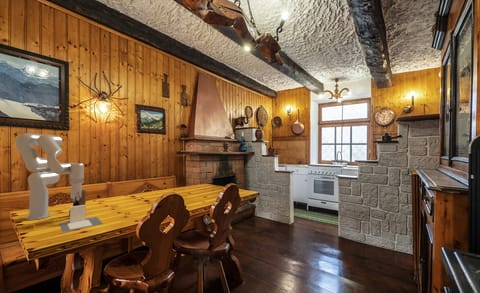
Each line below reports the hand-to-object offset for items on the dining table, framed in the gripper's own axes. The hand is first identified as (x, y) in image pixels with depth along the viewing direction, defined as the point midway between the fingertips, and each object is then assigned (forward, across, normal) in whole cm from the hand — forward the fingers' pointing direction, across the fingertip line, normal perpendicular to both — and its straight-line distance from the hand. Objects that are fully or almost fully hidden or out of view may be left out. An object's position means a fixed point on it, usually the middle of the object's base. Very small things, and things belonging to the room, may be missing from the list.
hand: (76, 207), depth 144 cm
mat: (+8, +16, +1) cm, 18 cm away
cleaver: (+8, -9, +2) cm, 12 cm away
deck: (+7, +9, 0) cm, 11 cm away
